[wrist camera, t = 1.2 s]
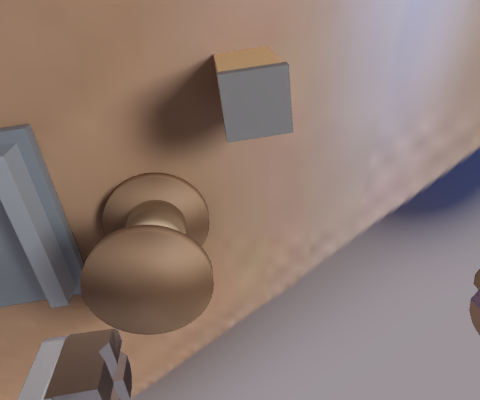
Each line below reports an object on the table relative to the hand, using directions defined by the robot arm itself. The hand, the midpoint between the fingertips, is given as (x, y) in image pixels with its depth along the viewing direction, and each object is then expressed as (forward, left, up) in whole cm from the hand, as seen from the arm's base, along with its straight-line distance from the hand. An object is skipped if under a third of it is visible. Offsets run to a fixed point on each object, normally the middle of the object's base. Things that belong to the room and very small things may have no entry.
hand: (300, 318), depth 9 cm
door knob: (+11, -8, -25) cm, 29 cm away
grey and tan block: (0, +1, -25) cm, 25 cm away
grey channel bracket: (+9, -21, -25) cm, 34 cm away
